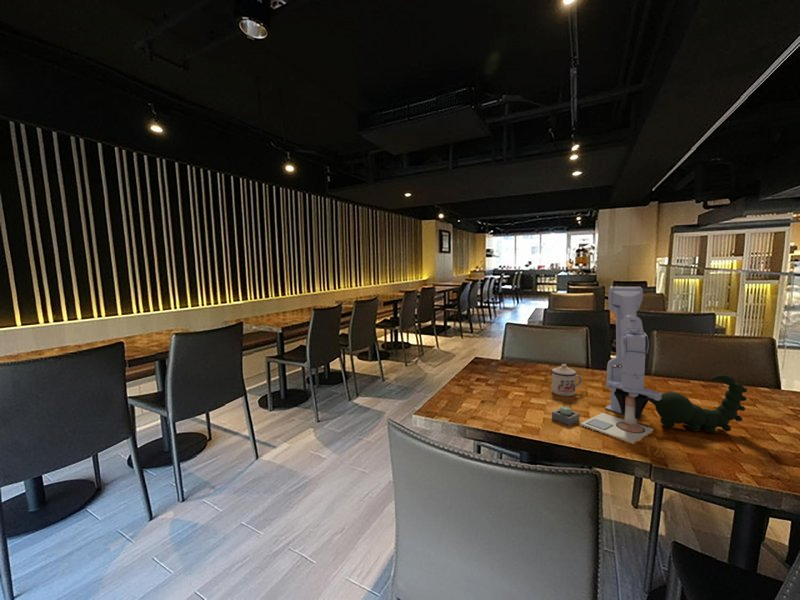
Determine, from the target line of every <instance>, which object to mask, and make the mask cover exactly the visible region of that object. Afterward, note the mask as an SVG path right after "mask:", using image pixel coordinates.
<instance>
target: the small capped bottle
mask: <svg viewBox="0 0 800 600" xmlns="http://www.w3.org/2000/svg"><path fill="white" fill-rule="evenodd" d="M635 397H636V396H631V395H626V396H625V415H624V418H623V420H624V422H626V423H628V424H632V425H635V424H638V419H636V418H635V411H636V405H635V399H634V398H635Z"/></svg>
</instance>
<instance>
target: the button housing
mask: <svg viewBox="0 0 800 600" xmlns="http://www.w3.org/2000/svg"><path fill="white" fill-rule="evenodd" d="M551 420H553V421H555V420H556V421H555V422H558V423H560V422H561V424H563V423H564V425H566V426H568V425H570V426H572V425H574V424H575V423H578V422H580V413H579V412H576V411H573V410H572V415H571V416H569V417H568V416H565V415H562V414H560V408H558V409H556V410H553V411H551ZM571 424H572V425H571Z"/></svg>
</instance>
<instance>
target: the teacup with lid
mask: <svg viewBox="0 0 800 600" xmlns="http://www.w3.org/2000/svg"><path fill="white" fill-rule="evenodd" d="M576 378H578V379H579V381H578V382H577V383H576ZM582 382H583V378H582V376H581V375H579V374H577V372H576V371H575V370H574V369H572V368H570V367H568V366H567V364H566V363H562V364H561V365H559V366H558V367H554V368H552V369H551V392H552V393H553V394H555V395H559V396H562V397H571V396H575V394H576V388H578V387H579V386H581V385H582Z"/></svg>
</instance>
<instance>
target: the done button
mask: <svg viewBox="0 0 800 600" xmlns="http://www.w3.org/2000/svg"><path fill="white" fill-rule="evenodd" d="M559 409H560V414H562V415H565V416H568V417H569V416H571V415H572V411H573V410H572V408H571V407H569V406H565V405H564V406H563V405H562V406H560V407H559Z"/></svg>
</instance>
